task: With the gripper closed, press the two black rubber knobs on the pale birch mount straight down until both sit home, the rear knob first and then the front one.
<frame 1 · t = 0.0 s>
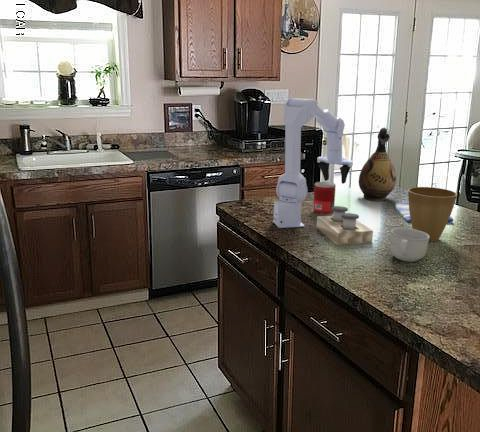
hand: (335, 181, 208), 11 cm above the worktop, tool pointing down, fingers open, 7 cm apart
ceramic jug: (375, 198, 227), on the worktop
plant pot: (426, 239, 174), on the worktop
knob front: (349, 222, 171), point 6 cm above the worktop, slide at 0.0 cm
knob mount: (343, 234, 177), on the worktop
knob rear: (339, 214, 179), point 6 cm above the worktop, slide at 0.0 cm
teacup: (405, 260, 154), on the worktop
dish towel: (422, 216, 202), on the worktop
canned food: (323, 211, 205), on the worktop
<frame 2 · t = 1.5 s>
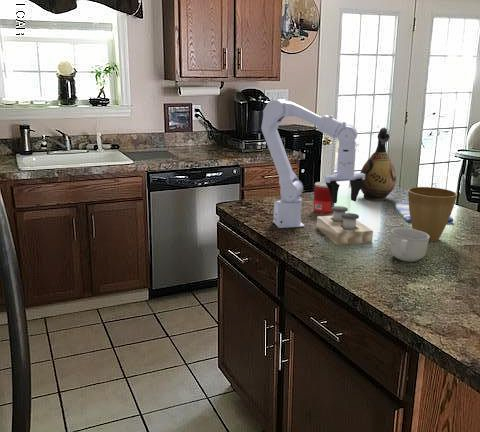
hand: (343, 201, 179), 10 cm above the worktop, tool pointing down, fingers open, 7 cm apart
nothing on the worktop moved.
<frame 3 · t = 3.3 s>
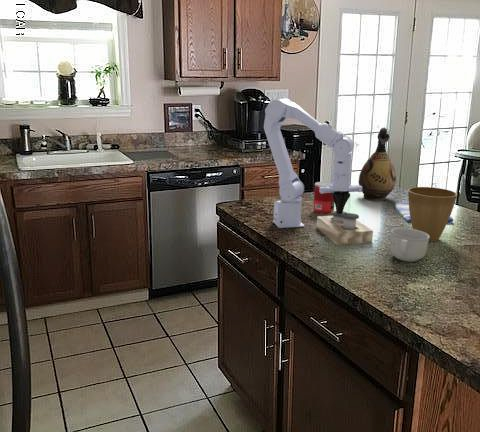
hand: (339, 213, 179), 6 cm above the worktop, tool pointing down, fingers closed, pressing on knob rear
knob rear: (338, 219, 180), point 4 cm above the worktop, slide at -1.6 cm, touching gripper
everything else where it was.
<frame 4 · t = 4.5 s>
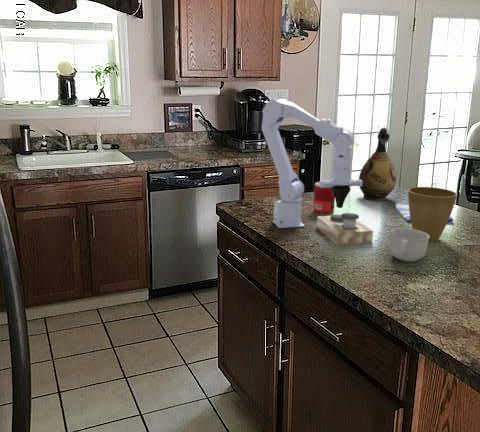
hand: (339, 207, 178), 8 cm above the worktop, tool pointing down, fingers closed
knob rear: (338, 223, 180), point 3 cm above the worktop, slide at -3.0 cm
everything else where it was.
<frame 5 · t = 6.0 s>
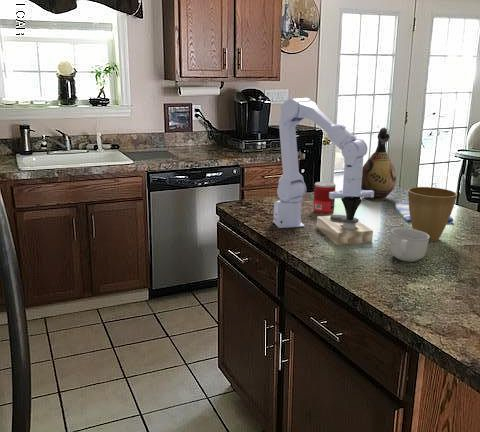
hand: (349, 219, 170), 7 cm above the worktop, tool pointing down, fingers closed, pressing on knob front
knob front: (349, 225, 171), point 4 cm above the worktop, slide at -1.3 cm, touching gripper
everything else where it was.
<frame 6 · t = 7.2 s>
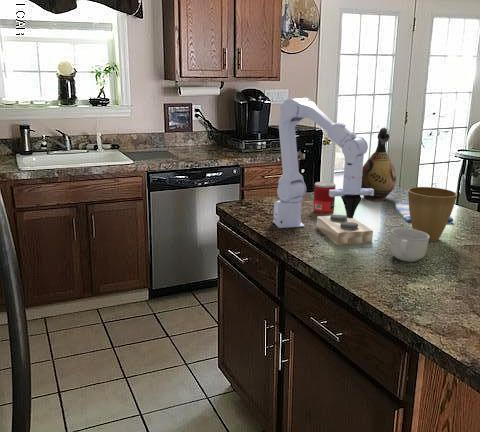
hand: (349, 217, 170), 7 cm above the worktop, tool pointing down, fingers closed
knob front: (348, 230, 172), point 3 cm above the worktop, slide at -3.0 cm
everything else where it was.
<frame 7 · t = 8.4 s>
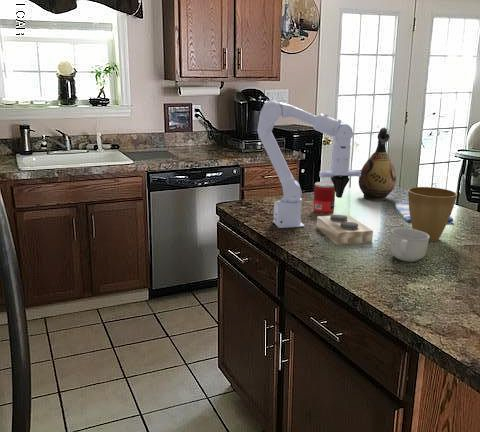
hand: (338, 197, 184), 10 cm above the worktop, tool pointing down, fingers closed
nothing on the worktop moved.
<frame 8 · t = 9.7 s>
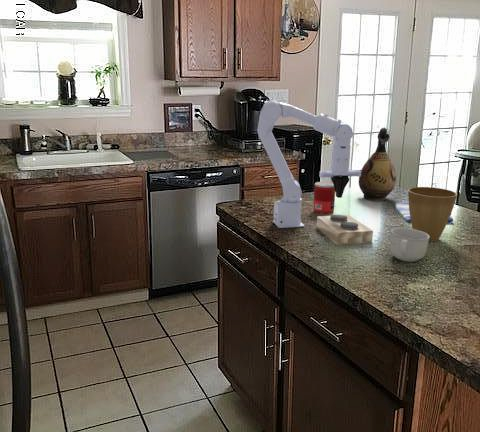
hand: (338, 197, 184), 10 cm above the worktop, tool pointing down, fingers closed
nothing on the worktop moved.
at the end: knob rear slide at -3.0 cm; knob front slide at -3.0 cm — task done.
